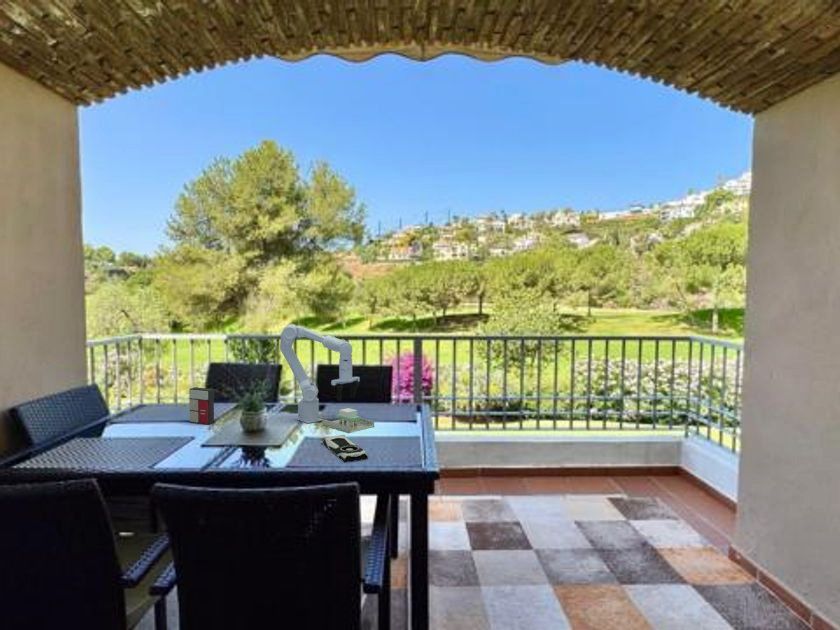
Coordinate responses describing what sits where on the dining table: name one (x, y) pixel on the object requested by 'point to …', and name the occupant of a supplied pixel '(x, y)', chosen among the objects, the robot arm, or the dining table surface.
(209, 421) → the toy cabinet
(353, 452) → the graphics card
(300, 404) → the robot arm
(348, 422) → the chassis
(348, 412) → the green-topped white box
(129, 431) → the dining table surface
